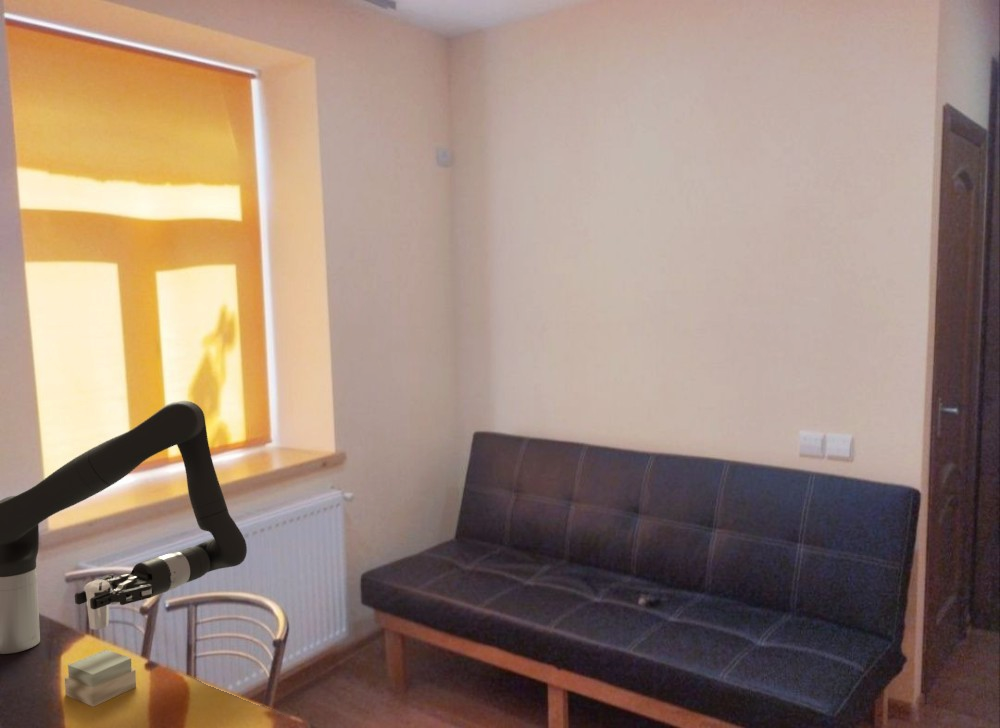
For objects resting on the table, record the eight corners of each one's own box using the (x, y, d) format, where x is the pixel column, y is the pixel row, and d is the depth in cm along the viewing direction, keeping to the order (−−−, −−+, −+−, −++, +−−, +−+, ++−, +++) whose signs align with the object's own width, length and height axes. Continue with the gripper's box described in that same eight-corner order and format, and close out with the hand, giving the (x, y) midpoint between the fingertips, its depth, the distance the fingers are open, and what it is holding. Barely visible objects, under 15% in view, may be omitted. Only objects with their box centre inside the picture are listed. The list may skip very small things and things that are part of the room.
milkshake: (90, 635, 151) (87, 585, 150) (83, 625, 156) (81, 576, 154) (115, 628, 154) (113, 579, 153) (108, 619, 158) (106, 571, 157)
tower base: (65, 695, 154) (64, 665, 154) (108, 676, 162) (107, 647, 162) (93, 706, 150) (91, 676, 149) (136, 686, 157) (134, 657, 157)
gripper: (139, 551, 170) (60, 576, 155) (182, 562, 163) (105, 589, 148) (140, 585, 171) (63, 613, 156) (184, 597, 163) (107, 628, 149)
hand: (84, 601), depth 152 cm, fingers closed on milkshake, 4 cm apart
